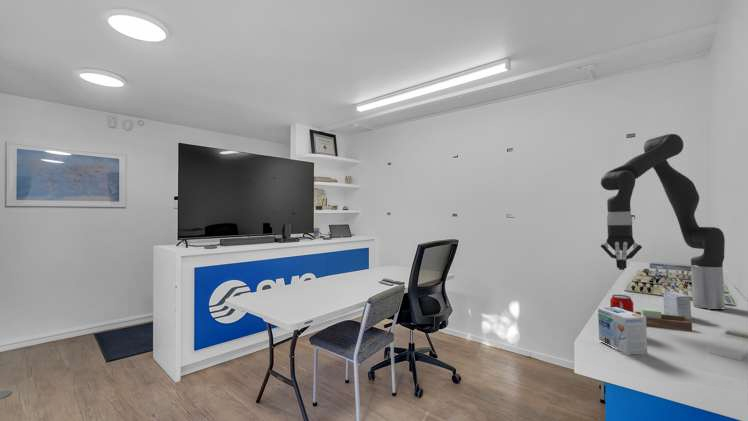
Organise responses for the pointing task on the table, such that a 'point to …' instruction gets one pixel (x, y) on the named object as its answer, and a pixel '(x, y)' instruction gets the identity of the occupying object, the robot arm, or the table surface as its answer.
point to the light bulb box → (623, 330)
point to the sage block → (651, 312)
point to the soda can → (622, 302)
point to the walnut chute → (669, 322)
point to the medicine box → (677, 304)
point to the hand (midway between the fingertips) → (621, 269)
